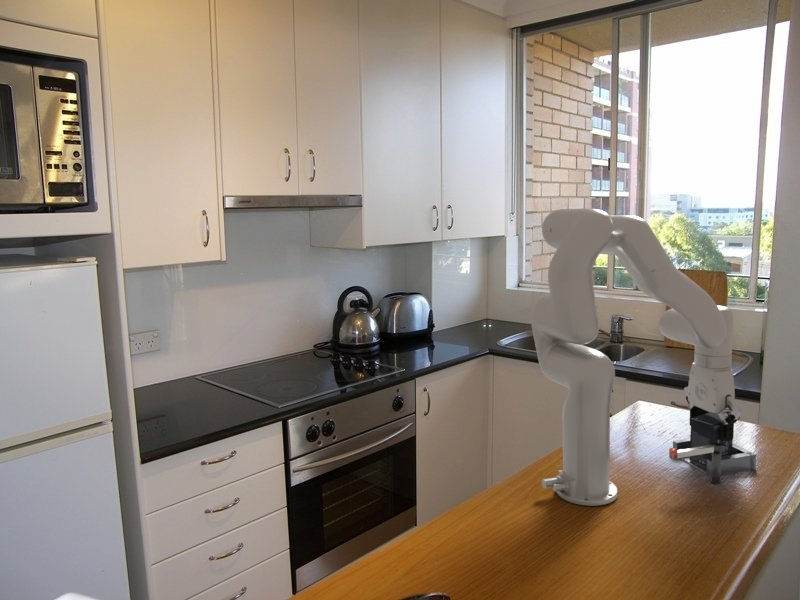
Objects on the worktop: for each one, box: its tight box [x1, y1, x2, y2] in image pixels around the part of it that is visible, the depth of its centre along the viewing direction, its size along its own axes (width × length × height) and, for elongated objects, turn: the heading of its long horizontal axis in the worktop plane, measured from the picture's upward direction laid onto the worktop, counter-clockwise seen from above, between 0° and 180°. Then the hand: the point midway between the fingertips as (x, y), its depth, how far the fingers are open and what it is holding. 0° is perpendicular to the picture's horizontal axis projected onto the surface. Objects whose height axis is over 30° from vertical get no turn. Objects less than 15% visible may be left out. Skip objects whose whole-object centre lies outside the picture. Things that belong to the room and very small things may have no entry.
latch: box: [668, 443, 724, 460], centre depth 131 cm, size 13×3×2 cm, turn 103°
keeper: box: [672, 437, 757, 485], centre depth 141 cm, size 13×16×7 cm
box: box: [689, 413, 734, 467], centre depth 142 cm, size 8×6×11 cm
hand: (710, 432), depth 143 cm, fingers open, 9 cm apart
